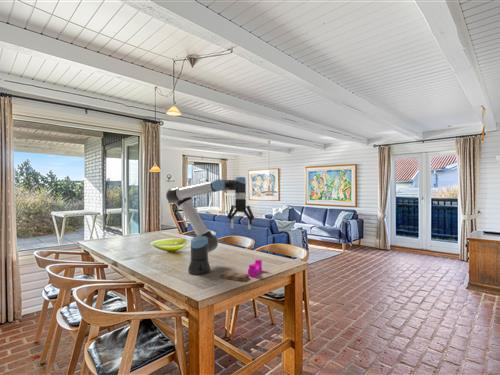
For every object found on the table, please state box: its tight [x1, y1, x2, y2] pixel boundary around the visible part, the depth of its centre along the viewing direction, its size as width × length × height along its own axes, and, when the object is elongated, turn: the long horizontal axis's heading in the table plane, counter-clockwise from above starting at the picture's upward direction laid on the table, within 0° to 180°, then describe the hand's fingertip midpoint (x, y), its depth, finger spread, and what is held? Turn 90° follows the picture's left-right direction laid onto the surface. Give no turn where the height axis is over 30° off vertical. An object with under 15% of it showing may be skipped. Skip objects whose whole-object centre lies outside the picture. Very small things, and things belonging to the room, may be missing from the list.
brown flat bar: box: [219, 270, 250, 282], centre depth 176 cm, size 17×7×2 cm, turn 66°
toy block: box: [247, 259, 263, 278], centre depth 186 cm, size 15×6×8 cm, turn 159°
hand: (240, 228), depth 195 cm, fingers open, 13 cm apart
